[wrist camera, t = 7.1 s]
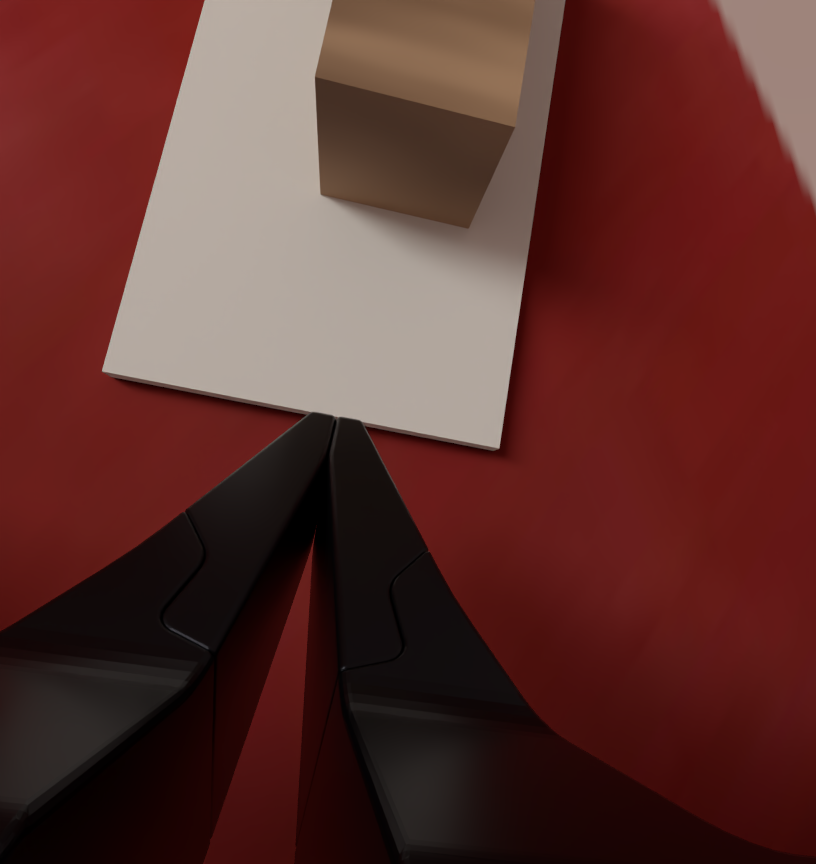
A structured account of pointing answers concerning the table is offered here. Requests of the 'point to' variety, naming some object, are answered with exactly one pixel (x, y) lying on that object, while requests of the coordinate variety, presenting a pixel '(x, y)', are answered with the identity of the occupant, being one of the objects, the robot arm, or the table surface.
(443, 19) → the walnut block
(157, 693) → the robot arm
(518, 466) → the table surface
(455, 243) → the mat
